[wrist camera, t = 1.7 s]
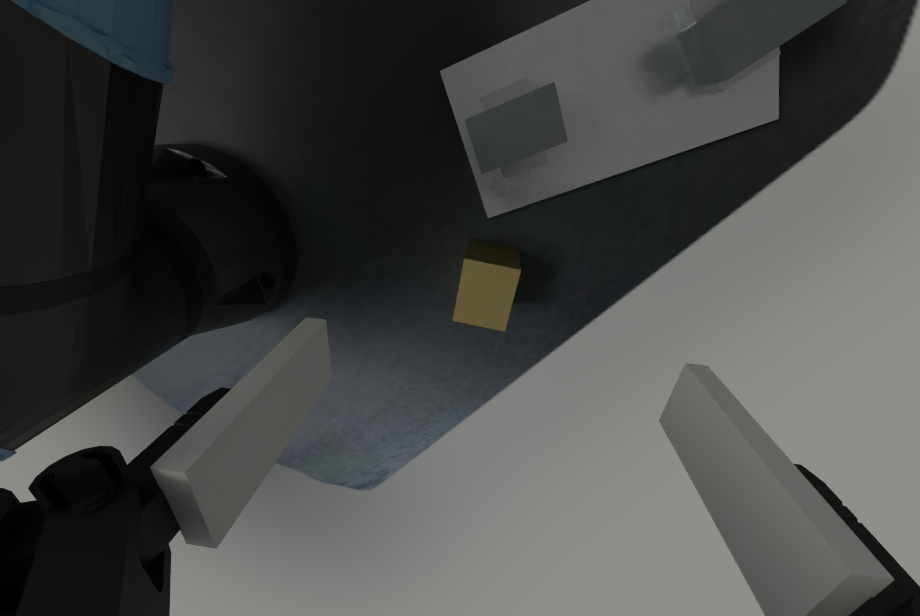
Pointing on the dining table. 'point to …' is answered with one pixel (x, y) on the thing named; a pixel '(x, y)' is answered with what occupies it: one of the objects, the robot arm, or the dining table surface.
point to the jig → (618, 89)
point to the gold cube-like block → (487, 285)
